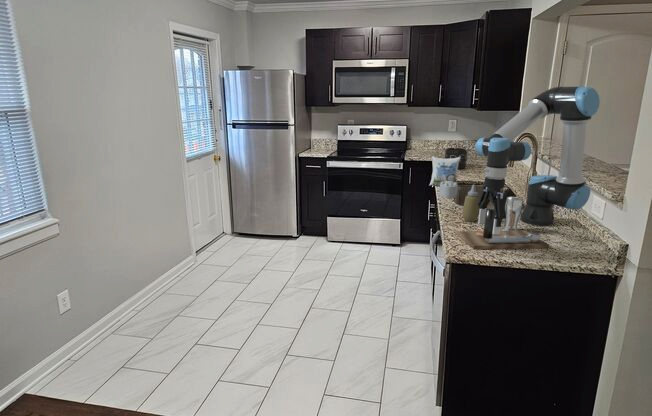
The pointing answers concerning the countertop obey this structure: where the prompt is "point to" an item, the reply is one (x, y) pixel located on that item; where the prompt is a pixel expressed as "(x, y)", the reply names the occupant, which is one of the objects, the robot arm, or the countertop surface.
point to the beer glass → (512, 213)
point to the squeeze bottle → (471, 206)
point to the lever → (505, 239)
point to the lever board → (478, 242)
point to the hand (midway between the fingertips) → (488, 228)
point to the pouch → (444, 170)
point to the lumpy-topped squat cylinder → (448, 189)
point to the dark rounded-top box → (455, 154)
